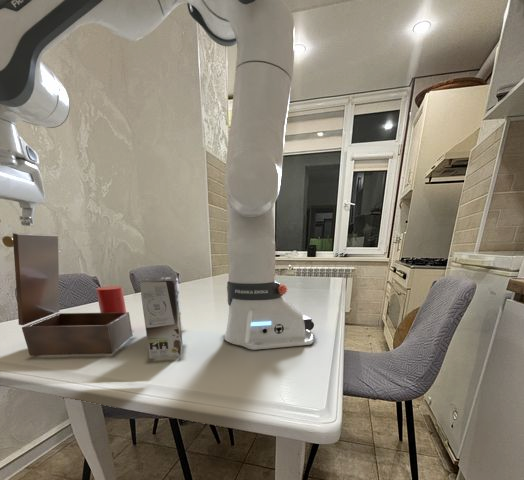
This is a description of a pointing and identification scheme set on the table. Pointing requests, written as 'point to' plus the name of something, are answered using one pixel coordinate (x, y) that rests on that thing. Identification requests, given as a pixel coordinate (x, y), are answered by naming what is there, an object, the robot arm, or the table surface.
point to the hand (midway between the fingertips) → (12, 224)
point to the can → (111, 299)
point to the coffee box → (162, 316)
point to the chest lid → (35, 275)
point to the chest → (78, 333)
